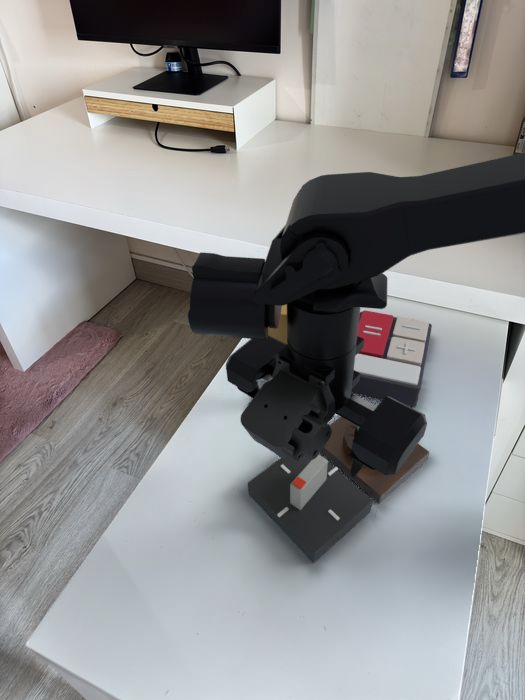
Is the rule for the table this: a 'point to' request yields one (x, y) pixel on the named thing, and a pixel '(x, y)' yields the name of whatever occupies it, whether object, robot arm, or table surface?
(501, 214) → the robot arm
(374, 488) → the switch block
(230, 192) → the table surface
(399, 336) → the calculator
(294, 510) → the panel
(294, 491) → the dimmer knob
